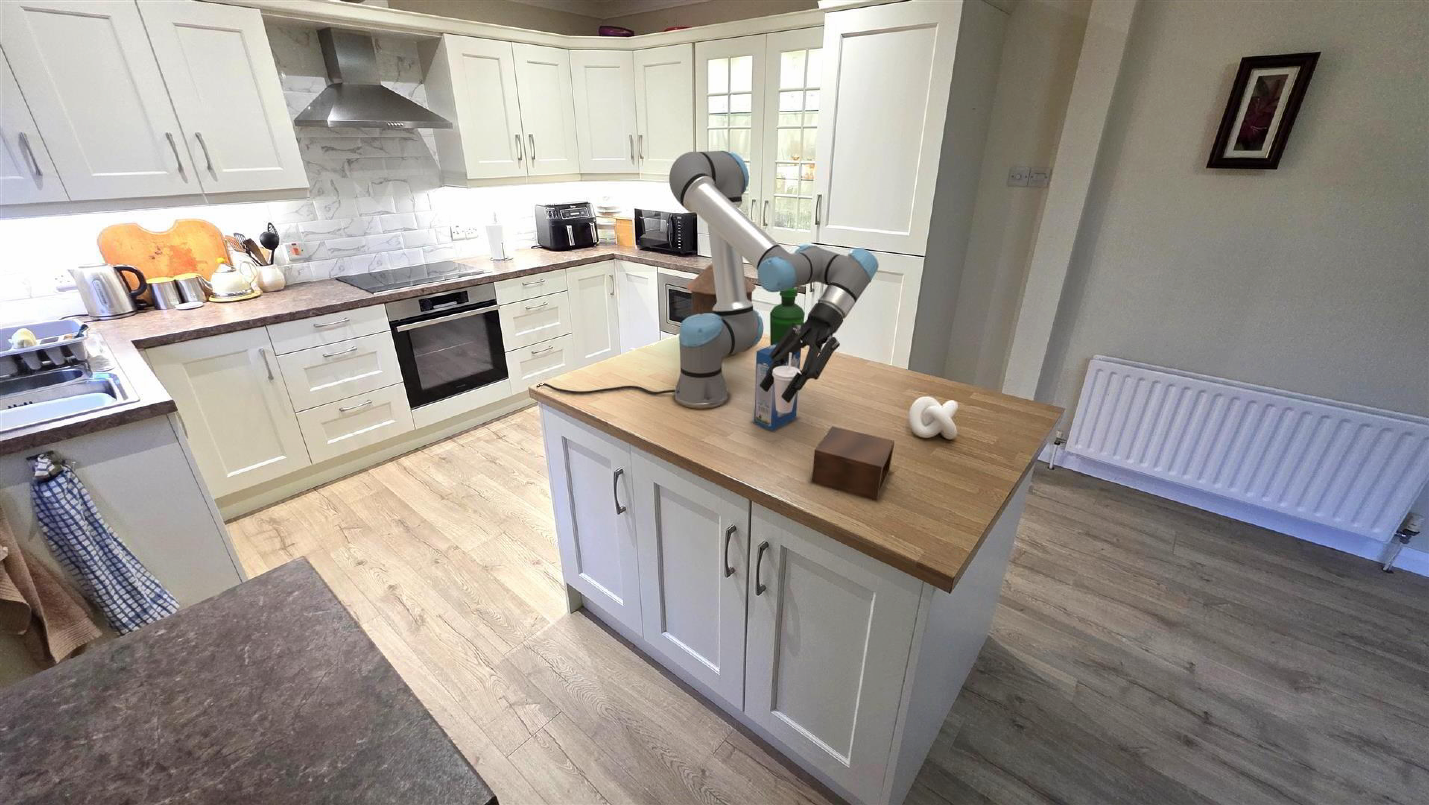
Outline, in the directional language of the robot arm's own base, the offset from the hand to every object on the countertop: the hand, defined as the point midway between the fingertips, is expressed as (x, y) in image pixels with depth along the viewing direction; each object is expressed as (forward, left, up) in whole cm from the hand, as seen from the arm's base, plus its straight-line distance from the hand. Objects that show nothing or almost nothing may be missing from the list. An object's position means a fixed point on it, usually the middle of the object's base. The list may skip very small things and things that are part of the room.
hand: (773, 394), depth 123 cm
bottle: (-17, +50, -16) cm, 55 cm away
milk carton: (-6, +16, -16) cm, 23 cm away
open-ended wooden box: (+19, -1, -16) cm, 25 cm away
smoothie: (+1, +3, -5) cm, 6 cm away
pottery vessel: (-43, +57, -16) cm, 73 cm away
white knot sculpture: (+32, +29, -16) cm, 46 cm away
